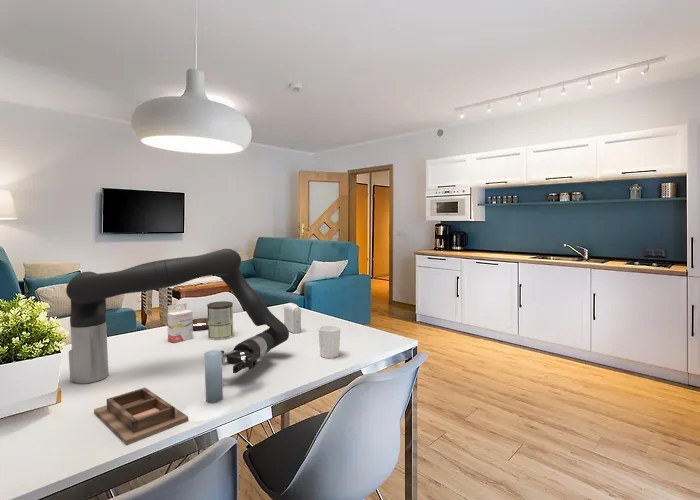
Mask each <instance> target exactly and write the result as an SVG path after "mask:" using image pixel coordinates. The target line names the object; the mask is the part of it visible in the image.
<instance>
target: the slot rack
mask: <svg viewBox="0 0 700 500" xmlns="http://www.w3.org/2000/svg"><path fill="white" fill-rule="evenodd" d="M93 413H94V415H96V416H97V417H98V418H99V419H100V420H101V421H102V422H103V423H104V424H105V425H106V427H108V429H110V430H111V432H113V433H114V434H115V435H116V436H117V437H118V438H119V439H120V440H121V441H122V442H123V443H124V444H125V445H126V446H128V445H130V444H134V443H135V442H138V441H140V440H143V439H146V438H148V437H151V436H153V435H155V434H158V433H160V432H163V431H165V430H169V429H170V428H173V427H176V426H178V425H181V424H183V423H186V422H188V421H190V420H189V416H188V415H186V414H185V413H184V412H182V411H181V410H180V409H178V408H177V407H175V406H173V405H172V404H171V403H169V402H168V401H166V400H165V399H163V398H162V397H160V396H158V395H157V394H156V393H154V392H153V391H151V390H150V389H148V388H147V387H142V388H138V389H134V390H131V391H128V392H125V393H122V394H119V395H115V396H112V397H109V398H106V405H103V406H101V407H97V408H94V409H93Z"/></svg>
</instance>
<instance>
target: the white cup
mask: <svg viewBox="0 0 700 500" xmlns="http://www.w3.org/2000/svg"><path fill="white" fill-rule="evenodd" d="M318 341H319V354H320V355H319V356H320V357H322V358H325V359H334V358H338V357H339V356H340V344H341V343H340V341H341V327H340V326H338V325H333V324H332V325H322V326H319V327H318Z"/></svg>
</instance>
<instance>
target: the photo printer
mask: <svg viewBox="0 0 700 500" xmlns="http://www.w3.org/2000/svg"><path fill="white" fill-rule="evenodd" d="M283 315H284V316H283V317H284V318H283V321H284V323H283V324H284V325H285V326H286V327H287V329H288V331H289V333H293V334H300V333H301V331H302V317H301V315H302V310H301V308H300V307H299V305H298V304H296V303H293V302H288V303H286V304H284V306H283Z"/></svg>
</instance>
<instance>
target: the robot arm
mask: <svg viewBox="0 0 700 500" xmlns="http://www.w3.org/2000/svg"><path fill="white" fill-rule="evenodd" d="M241 263H242V257H241V255H240V254H239V253H238V252H237V251H236V250H235V249H231V248H222V249H218V250H216V251H212V252H209V253H204V254H200V255H195V256H182V257H175V258H166V259H161V260H155V261H149V262H145V263H141V264H138V265H135V266H131V267H129V268H125V269H122V270H117V271H111V272H103V273H102V272H101V273H96V272H93V271H82V272H79V273H77V274H76V275H74V277H72V278H71V279H70V280H69V282H68V283H67V286H66V289H65V290H66V295H67V297H68V298H69V300H70V315H69V317H70V318H69V325H70V339H71V340H70V342H71V349H70V350H68V362H69V363H68V364H69V365H68V366H69V380H70V382H74V383H75V384H89V383H95V382H98V381H101V380H103V379H106V378H108V376H109V375H110V374H109V355H108V336H107V335H108V334H107V333H108V332H107V299H110V298H113V297H116V296H120V295H125V294H126V295H127V294H133V293H134V294H135V293H143V292H147V291H148V292H149V291H155V290H161V289H166V288H171V287H175V286H178V285H182V284H184V283H187V282H190V281H193V280H195V279H199V278H202V277H206V276H207V277H208V276H215V275H217V276H218V277H219V278H220V280H222V281H223V282H224V283H225V284H226V286H227V287H228V288H229V290H231V292H232V293H233V294H234V296H235V297H236V299H237V300H238V301H239V303H240V305H241V307H242V308H243V309H244V311H245V312H246V314H247V316H248V317H249V318H250V320H251V322H252V323H253V324H254V326H256V327H261V326H264V325H265V326H267V327H269V328H267V329H265V330H264V331H261V332H260V333H258V334H255V335H254V336H250V337H248V338H246V339H245V340H243V341H240V342H239V343H237V344H236V345H235V346H234V348H233V350H230V352H225V350H220V351H221V352H222V367H225V366H230V365H232V373H233V374H237V373H239V372H241V371H243V370H247V368H248V370H253V369H254V368H255V367H257V366H258V365H259V364H261V358H262V357H263V356H264V355H265V354H268V353H269V352H270V351H271V350H272V349H274V348H276V347H277V346H279V345H281V344H283V343H285V342H287V340H289V336H290V331H288V329H287V327H286V326H285V325H284V323H283V322H282V321H281V320H280V319H278V318H277V317H276V316H275V315H274V314H273V313H272V312H271V311H270V309H269V308H268V307H267V305H266V303H265V302H264V300H263V299H262V297H261V296H260V295H259V294H258V293H257V291H255V290H254V289H253V287H252V286H251V285H250V284H249V283H248V281H247V280H246V279H245V277H244V275H243V274H242V272H241V269H240V267H241Z"/></svg>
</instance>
